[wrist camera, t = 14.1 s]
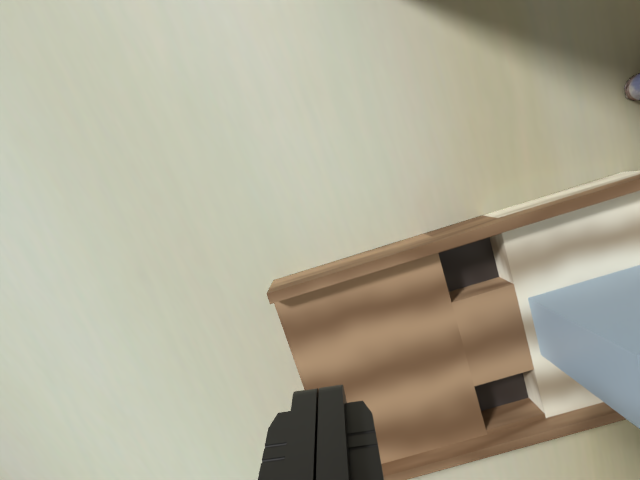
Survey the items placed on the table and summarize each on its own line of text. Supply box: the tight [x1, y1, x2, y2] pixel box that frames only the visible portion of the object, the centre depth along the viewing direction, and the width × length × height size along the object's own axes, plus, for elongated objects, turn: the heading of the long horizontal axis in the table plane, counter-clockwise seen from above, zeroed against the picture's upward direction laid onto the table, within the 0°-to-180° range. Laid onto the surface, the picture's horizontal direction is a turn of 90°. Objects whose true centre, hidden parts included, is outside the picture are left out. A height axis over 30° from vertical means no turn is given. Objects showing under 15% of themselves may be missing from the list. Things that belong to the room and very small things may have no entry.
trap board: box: [267, 171, 640, 480], centre depth 33 cm, size 22×36×4 cm, turn 107°
